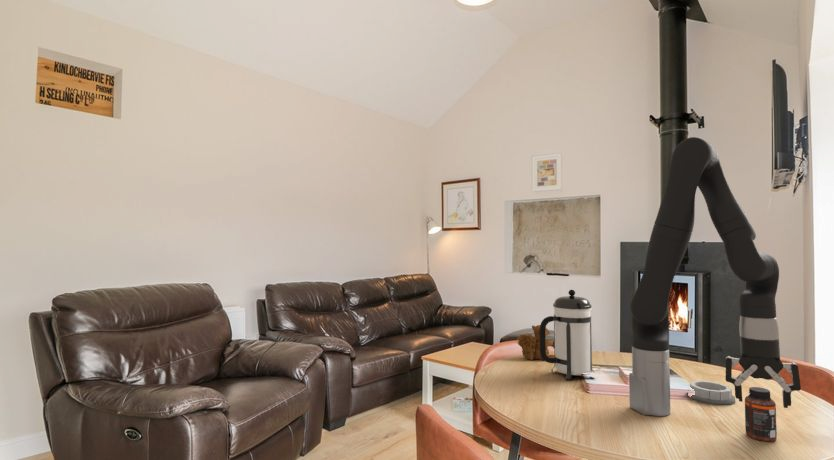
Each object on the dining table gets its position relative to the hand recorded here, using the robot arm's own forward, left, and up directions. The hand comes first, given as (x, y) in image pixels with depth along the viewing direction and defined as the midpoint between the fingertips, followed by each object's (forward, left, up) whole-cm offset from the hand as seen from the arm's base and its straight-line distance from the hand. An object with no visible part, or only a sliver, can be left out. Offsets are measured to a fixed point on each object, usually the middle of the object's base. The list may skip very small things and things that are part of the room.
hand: (762, 403), depth 108 cm
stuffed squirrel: (-22, +79, -8) cm, 82 cm away
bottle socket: (+9, +26, -8) cm, 29 cm away
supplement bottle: (-1, 0, -8) cm, 8 cm away
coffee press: (-21, +54, -8) cm, 58 cm away
